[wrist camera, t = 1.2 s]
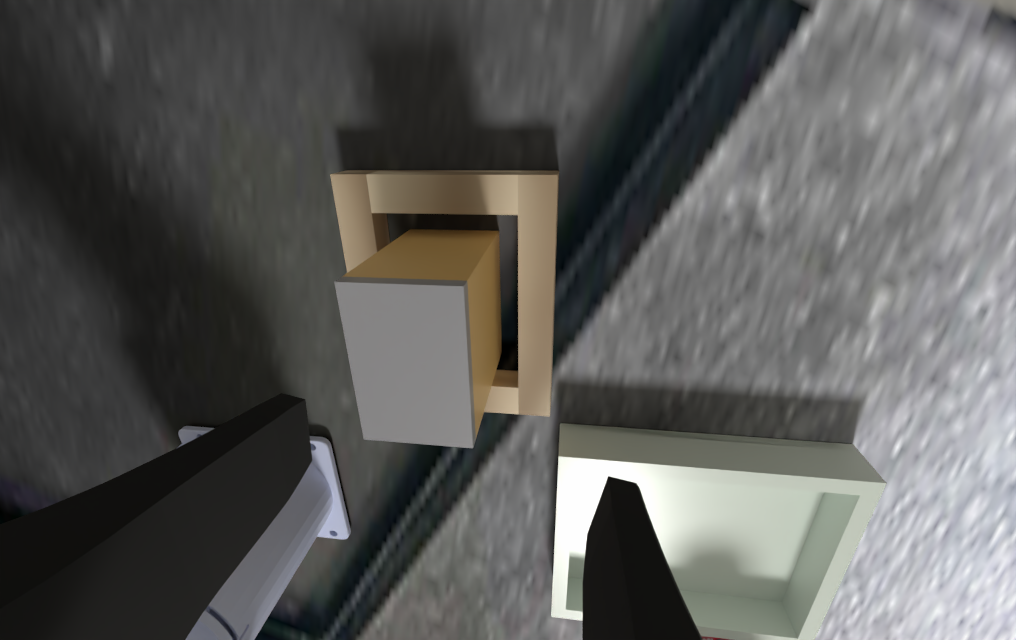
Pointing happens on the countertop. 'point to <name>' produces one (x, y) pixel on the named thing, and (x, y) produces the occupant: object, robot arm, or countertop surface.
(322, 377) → the countertop surface
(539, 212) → the socket block
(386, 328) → the tan boxy piece
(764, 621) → the tray
